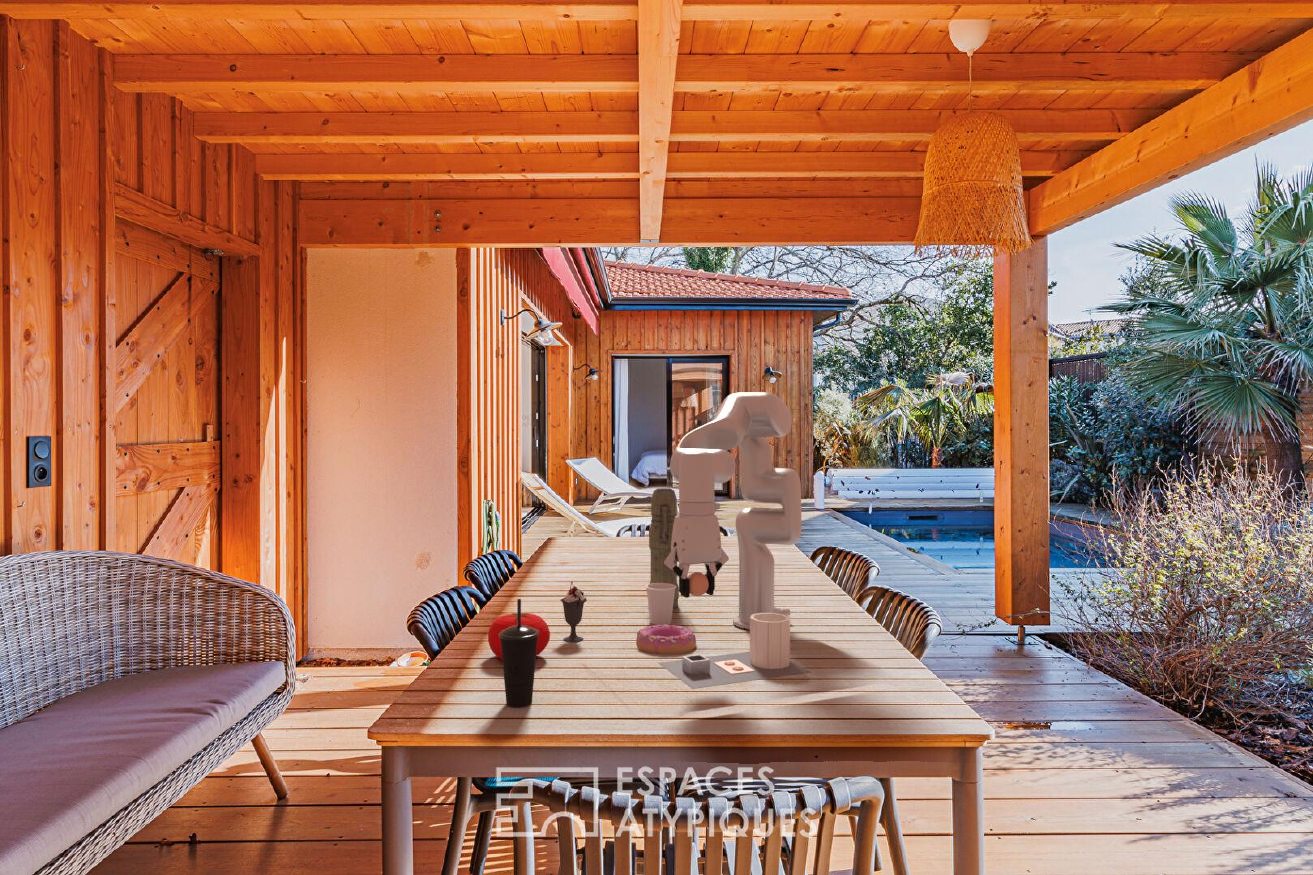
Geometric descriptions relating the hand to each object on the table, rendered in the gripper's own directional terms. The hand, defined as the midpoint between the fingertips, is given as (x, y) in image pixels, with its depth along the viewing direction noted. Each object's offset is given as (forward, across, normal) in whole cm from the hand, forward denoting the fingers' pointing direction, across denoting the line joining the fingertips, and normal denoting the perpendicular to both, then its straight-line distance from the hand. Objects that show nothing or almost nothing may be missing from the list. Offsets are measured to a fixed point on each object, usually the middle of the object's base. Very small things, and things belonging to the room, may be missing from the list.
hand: (696, 594), depth 162 cm
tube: (+17, -18, 0) cm, 24 cm away
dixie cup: (+19, -10, -46) cm, 50 cm away
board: (+18, -8, 0) cm, 20 cm away
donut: (+18, -2, -21) cm, 28 cm away
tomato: (+18, +32, -28) cm, 46 cm away
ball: (-2, 0, 0) cm, 2 cm away
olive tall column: (+19, -18, -62) cm, 68 cm away
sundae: (+18, +16, -38) cm, 45 cm away
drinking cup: (+17, +38, +2) cm, 42 cm away
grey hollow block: (+17, 0, 0) cm, 17 cm away
